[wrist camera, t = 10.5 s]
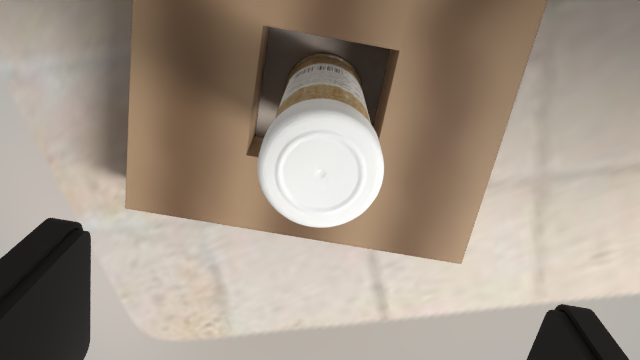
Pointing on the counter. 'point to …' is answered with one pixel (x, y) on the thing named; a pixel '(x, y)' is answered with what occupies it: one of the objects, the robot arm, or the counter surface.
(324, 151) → the sprinkles bottle
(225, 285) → the counter surface
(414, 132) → the spice holder
